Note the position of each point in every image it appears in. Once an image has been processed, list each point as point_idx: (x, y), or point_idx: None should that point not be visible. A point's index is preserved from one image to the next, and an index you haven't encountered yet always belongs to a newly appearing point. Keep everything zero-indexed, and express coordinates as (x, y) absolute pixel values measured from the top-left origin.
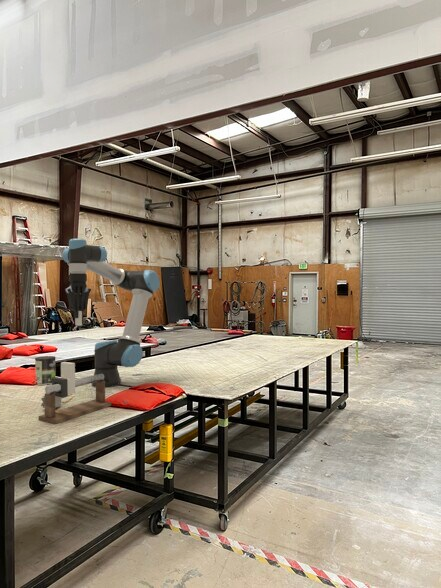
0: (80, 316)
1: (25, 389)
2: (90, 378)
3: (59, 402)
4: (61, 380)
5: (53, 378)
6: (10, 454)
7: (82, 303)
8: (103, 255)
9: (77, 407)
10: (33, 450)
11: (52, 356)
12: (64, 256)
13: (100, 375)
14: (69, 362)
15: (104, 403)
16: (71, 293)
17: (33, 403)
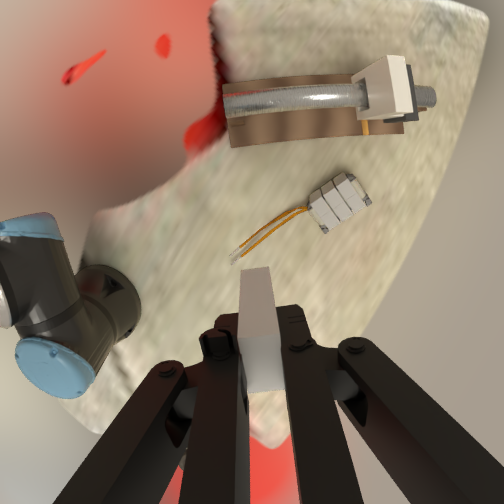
0: (258, 303)
1: (271, 402)
2: (287, 87)
3: (319, 191)
4: (410, 74)
5: (417, 112)
6: (482, 32)
7: (215, 412)
8: None
9: (312, 114)
10: (459, 13)
11: (182, 466)
12: None
13: (238, 94)
14: (393, 83)
15: (242, 87)
16: (499, 498)
17: (335, 276)
